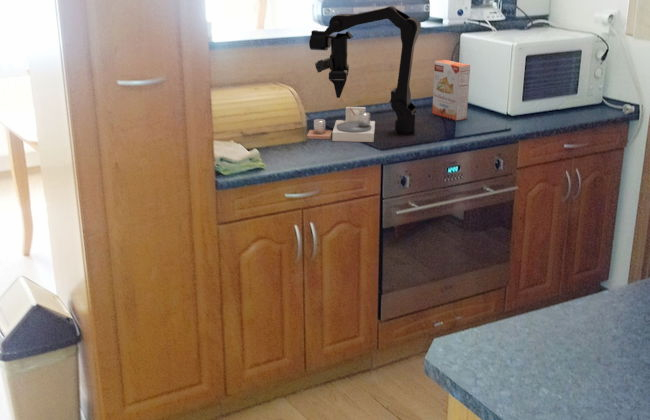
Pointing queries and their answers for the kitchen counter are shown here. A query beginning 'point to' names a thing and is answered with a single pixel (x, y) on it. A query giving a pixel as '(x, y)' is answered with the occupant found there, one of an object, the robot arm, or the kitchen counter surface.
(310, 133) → the rubber mat
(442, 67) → the cracker box
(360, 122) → the cylinder
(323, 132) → the cylinder
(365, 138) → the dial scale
